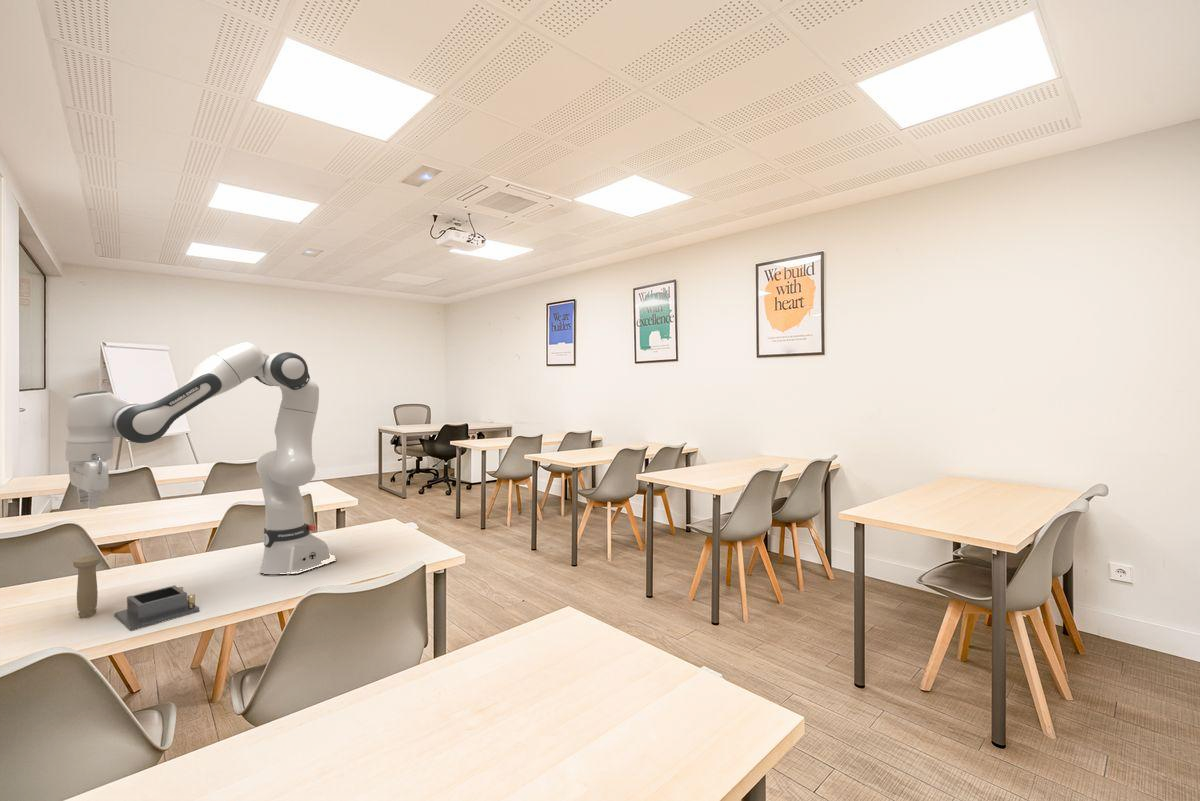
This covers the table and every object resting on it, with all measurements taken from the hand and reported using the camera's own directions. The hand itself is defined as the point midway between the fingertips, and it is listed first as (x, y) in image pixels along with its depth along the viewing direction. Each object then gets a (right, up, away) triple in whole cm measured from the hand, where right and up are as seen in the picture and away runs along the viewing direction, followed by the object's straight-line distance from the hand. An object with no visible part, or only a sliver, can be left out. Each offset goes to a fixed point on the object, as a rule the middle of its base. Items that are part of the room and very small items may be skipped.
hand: (88, 506), depth 135 cm
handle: (-1, -29, 0) cm, 29 cm away
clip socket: (+16, -29, +2) cm, 33 cm away
